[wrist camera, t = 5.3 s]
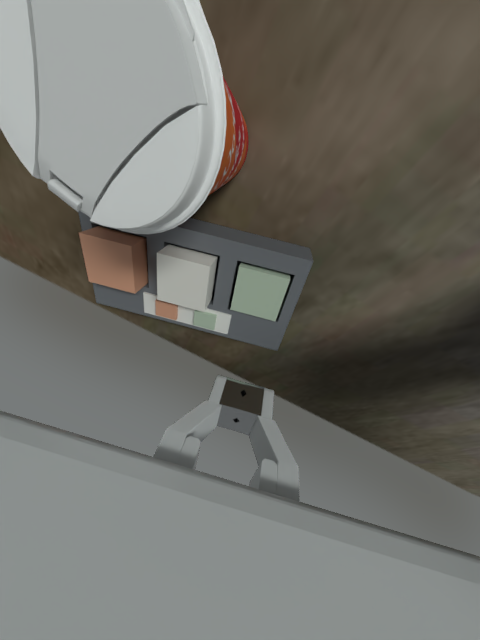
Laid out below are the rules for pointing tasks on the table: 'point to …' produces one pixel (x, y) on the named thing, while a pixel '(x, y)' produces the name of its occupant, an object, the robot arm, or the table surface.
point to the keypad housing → (216, 280)
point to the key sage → (259, 291)
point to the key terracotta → (115, 258)
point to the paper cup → (119, 107)
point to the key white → (185, 277)
